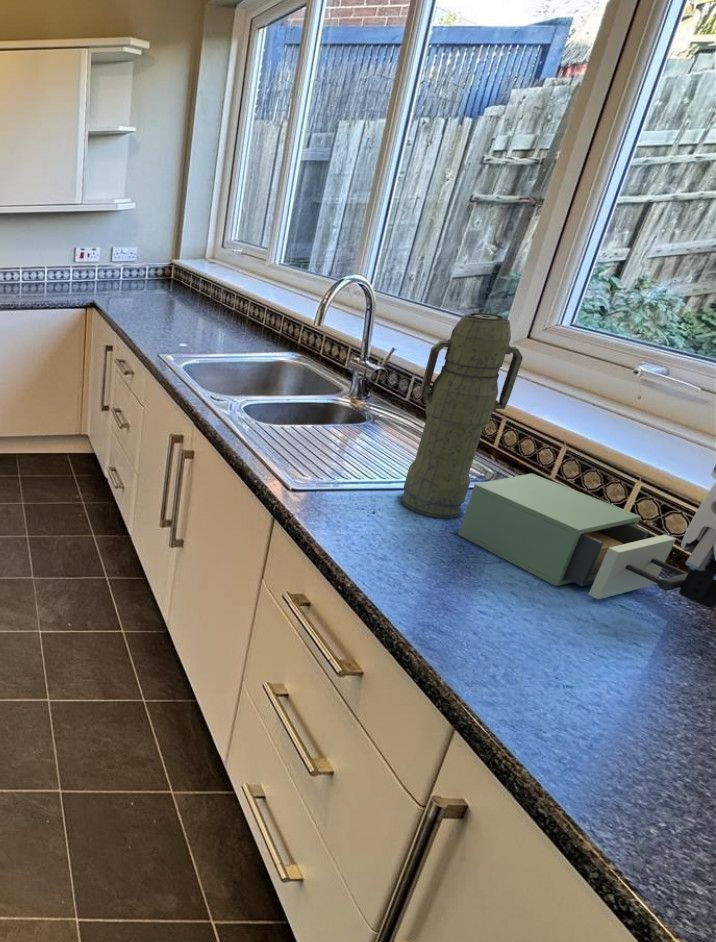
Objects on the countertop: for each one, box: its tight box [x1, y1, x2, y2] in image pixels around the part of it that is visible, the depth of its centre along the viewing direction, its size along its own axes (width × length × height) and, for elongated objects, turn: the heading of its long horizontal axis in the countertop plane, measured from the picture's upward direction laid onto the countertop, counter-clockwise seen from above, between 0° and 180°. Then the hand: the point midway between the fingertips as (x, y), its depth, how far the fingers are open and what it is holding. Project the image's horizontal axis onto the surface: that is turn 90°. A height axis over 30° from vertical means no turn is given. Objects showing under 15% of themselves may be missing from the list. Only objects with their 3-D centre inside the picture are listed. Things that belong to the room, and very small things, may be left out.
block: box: [584, 531, 623, 574], centre depth 91 cm, size 4×4×4 cm
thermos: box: [400, 312, 524, 519], centre depth 105 cm, size 9×12×35 cm
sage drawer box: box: [457, 472, 642, 587], centre depth 96 cm, size 15×13×10 cm
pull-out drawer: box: [564, 523, 689, 600], centre depth 90 cm, size 18×11×8 cm, turn 16°
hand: (698, 599), depth 80 cm, fingers closed
